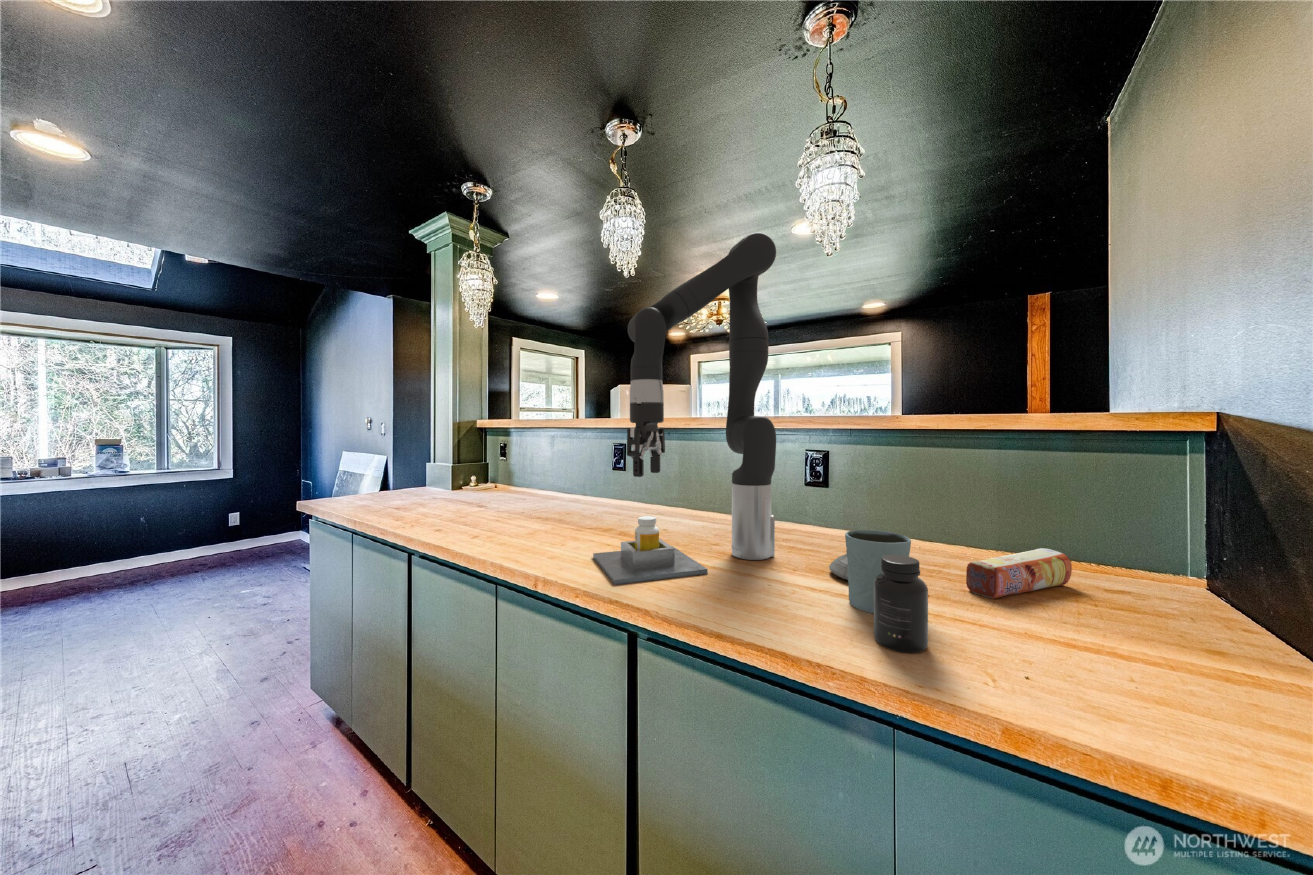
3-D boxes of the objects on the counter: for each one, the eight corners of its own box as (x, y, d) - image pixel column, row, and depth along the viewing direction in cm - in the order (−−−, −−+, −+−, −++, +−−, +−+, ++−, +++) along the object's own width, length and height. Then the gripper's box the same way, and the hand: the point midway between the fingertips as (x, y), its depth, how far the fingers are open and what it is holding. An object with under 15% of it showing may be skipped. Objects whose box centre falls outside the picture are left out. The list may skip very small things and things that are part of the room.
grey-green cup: (833, 603, 79) (834, 534, 79) (861, 590, 86) (862, 526, 86) (894, 622, 72) (895, 546, 71) (920, 606, 78) (920, 536, 78)
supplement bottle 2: (880, 628, 70) (880, 549, 69) (931, 641, 65) (932, 557, 65) (867, 644, 64) (868, 559, 64) (922, 660, 60) (923, 569, 60)
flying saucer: (903, 597, 83) (903, 567, 83) (819, 580, 92) (819, 553, 92) (915, 575, 95) (915, 549, 95) (840, 563, 104) (840, 539, 104)
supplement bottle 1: (630, 560, 101) (629, 517, 101) (647, 555, 105) (646, 514, 105) (647, 565, 98) (646, 521, 98) (664, 560, 102) (663, 517, 101)
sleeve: (672, 549, 114) (672, 531, 114) (707, 573, 96) (707, 552, 95) (593, 557, 108) (593, 538, 107) (614, 585, 89) (614, 562, 89)
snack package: (998, 603, 80) (998, 565, 80) (961, 590, 86) (961, 555, 86) (1073, 588, 87) (1074, 553, 87) (1034, 577, 93) (1035, 544, 93)
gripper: (645, 403, 109) (646, 471, 109) (615, 400, 96) (616, 477, 97) (674, 402, 106) (675, 472, 106) (647, 399, 93) (648, 478, 93)
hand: (647, 474), depth 101 cm, fingers open, 8 cm apart
